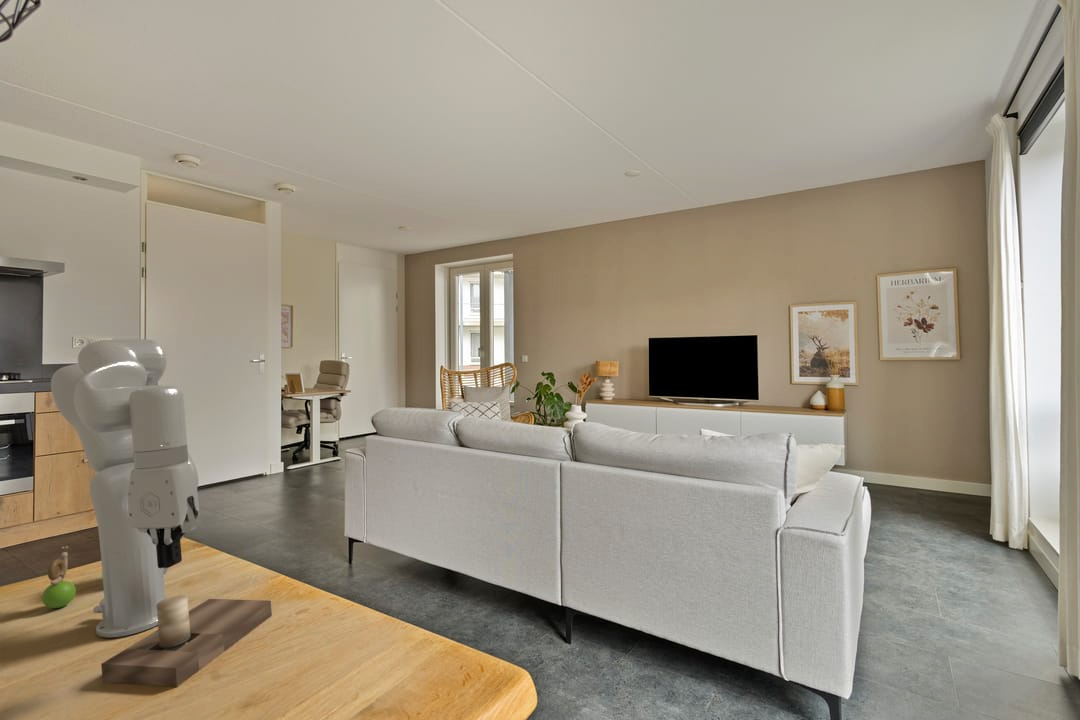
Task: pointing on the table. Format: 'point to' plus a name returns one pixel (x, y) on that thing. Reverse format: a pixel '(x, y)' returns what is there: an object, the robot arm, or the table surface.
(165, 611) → the beech leg
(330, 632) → the table surface
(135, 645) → the walnut board
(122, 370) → the robot arm
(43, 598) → the snail figurine
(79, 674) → the table surface
